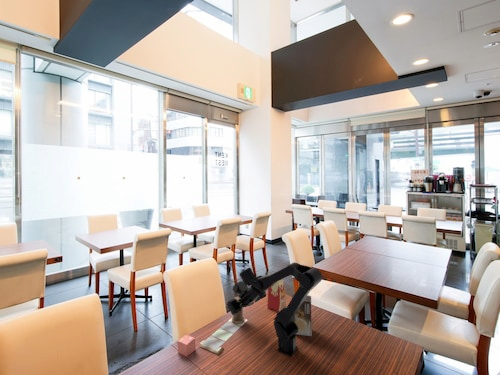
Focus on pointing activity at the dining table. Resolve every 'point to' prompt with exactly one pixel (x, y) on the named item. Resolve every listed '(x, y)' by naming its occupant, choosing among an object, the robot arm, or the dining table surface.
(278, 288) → the milk carton
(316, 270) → the robot arm
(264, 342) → the dining table surface
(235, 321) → the pawn
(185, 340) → the die
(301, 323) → the coffee box
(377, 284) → the dining table surface
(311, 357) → the dining table surface
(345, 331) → the dining table surface
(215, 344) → the board
